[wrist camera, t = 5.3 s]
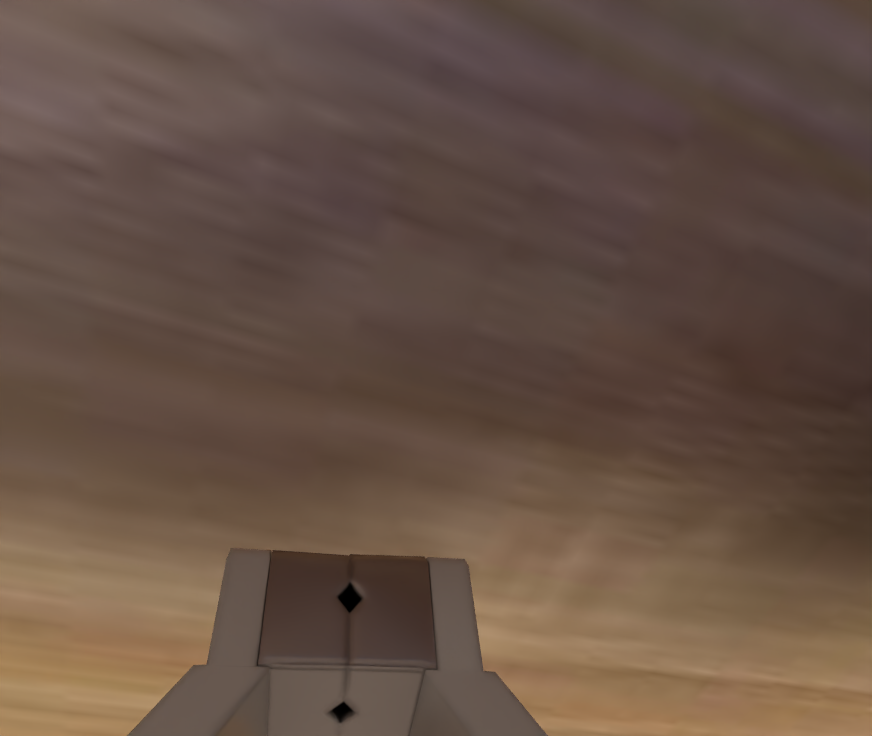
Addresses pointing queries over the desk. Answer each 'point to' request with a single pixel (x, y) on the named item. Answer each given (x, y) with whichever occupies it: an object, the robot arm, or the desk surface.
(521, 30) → the desk surface
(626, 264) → the desk surface
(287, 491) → the desk surface
